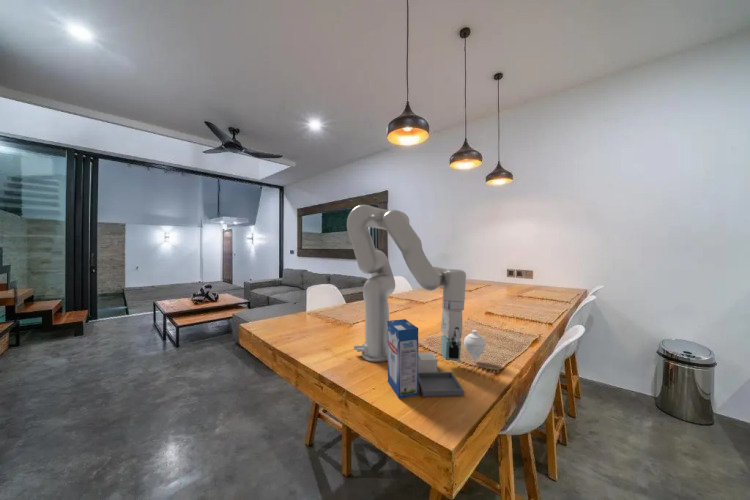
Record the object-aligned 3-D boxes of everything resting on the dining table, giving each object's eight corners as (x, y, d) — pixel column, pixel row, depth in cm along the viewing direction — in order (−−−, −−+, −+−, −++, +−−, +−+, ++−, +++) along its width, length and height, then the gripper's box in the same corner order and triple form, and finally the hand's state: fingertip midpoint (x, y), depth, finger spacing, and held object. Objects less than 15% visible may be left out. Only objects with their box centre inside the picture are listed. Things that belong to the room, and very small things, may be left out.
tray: (422, 397, 79) (422, 391, 79) (415, 378, 90) (415, 372, 90) (463, 396, 79) (463, 390, 79) (451, 377, 90) (451, 371, 90)
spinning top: (461, 357, 105) (461, 327, 105) (481, 357, 105) (481, 327, 104) (467, 366, 97) (467, 333, 97) (489, 367, 97) (489, 334, 97)
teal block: (445, 360, 94) (446, 341, 94) (441, 352, 100) (441, 335, 100) (459, 360, 94) (461, 342, 94) (454, 353, 100) (455, 335, 100)
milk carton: (418, 395, 80) (418, 328, 79) (399, 399, 78) (398, 330, 77) (405, 378, 89) (405, 318, 89) (387, 381, 88) (387, 320, 87)
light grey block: (414, 373, 93) (414, 359, 93) (411, 365, 99) (411, 352, 99) (440, 372, 93) (440, 359, 93) (436, 364, 99) (436, 352, 99)
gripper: (436, 298, 105) (434, 343, 105) (450, 310, 87) (447, 365, 88) (455, 298, 105) (453, 344, 106) (473, 311, 88) (470, 365, 89)
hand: (450, 353), depth 97 cm, fingers closed on teal block, 6 cm apart
